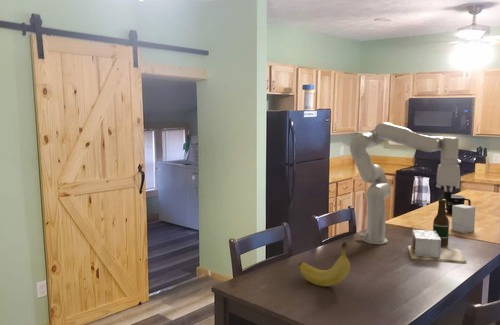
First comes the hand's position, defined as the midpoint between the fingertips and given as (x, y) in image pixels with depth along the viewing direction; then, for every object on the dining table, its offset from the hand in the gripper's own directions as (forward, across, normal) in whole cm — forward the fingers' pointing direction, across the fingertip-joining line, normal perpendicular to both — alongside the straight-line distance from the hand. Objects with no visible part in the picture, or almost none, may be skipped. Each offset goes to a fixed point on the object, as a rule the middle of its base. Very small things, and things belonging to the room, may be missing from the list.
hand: (447, 199), depth 204 cm
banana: (+27, +54, +56) cm, 82 cm away
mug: (+27, -21, -96) cm, 102 cm away
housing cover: (+26, +9, +4) cm, 28 cm away
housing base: (+27, +5, +4) cm, 28 cm away
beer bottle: (+27, 0, -15) cm, 31 cm away
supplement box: (+27, -17, -47) cm, 57 cm away
